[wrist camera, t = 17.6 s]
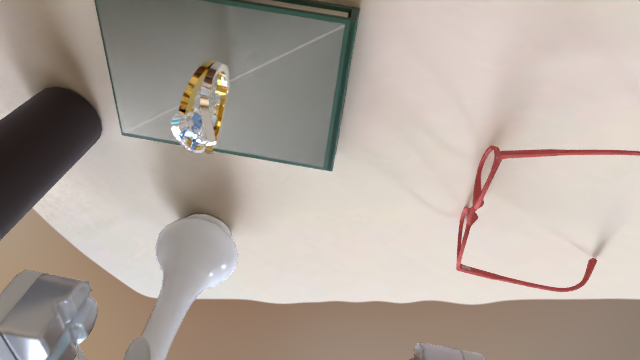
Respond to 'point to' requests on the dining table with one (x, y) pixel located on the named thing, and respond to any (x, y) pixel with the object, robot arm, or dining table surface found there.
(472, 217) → the red eyeglasses
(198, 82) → the ring
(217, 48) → the book
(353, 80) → the dining table surface
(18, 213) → the vinegar
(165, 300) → the flower vase
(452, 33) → the dining table surface
